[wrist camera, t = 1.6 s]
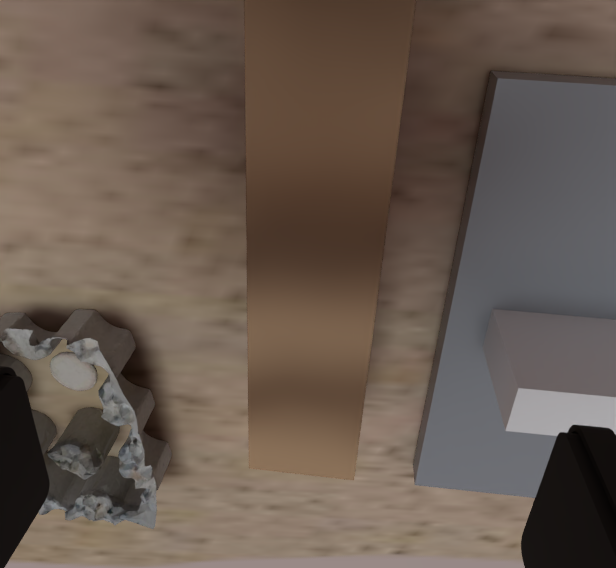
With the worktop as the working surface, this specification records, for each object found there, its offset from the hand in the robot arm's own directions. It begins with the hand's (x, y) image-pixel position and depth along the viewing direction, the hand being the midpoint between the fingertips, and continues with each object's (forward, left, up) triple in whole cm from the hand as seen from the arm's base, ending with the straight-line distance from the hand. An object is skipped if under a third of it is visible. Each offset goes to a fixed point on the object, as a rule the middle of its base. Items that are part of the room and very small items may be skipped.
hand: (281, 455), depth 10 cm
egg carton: (+11, -11, -13) cm, 20 cm away
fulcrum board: (+4, +11, -12) cm, 17 cm away
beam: (-1, 0, -13) cm, 13 cm away
